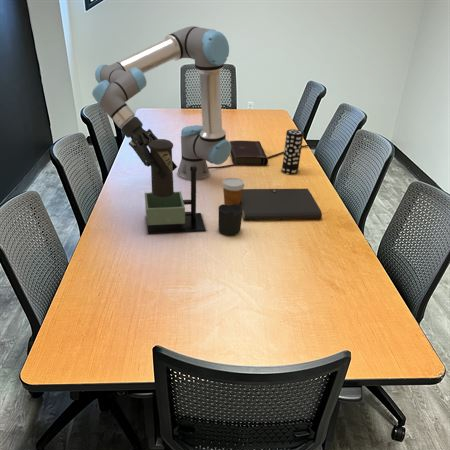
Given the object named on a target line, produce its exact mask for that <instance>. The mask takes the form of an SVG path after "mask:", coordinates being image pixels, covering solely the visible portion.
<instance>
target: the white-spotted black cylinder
mask: <svg viewBox="0 0 450 450" xmlns="http://www.w3.org/2000/svg"><path fill="white" fill-rule="evenodd" d="M304 134H305V133H304V131H302V130H300V129H292V128H291V129H288V130H286V132H285V142H284V150H283V152H284V153H283V156H282V166H281V172H282V173H283V174H285V175H291V176H292V175H297V174H298V173H299V167H300V161H301V156H302V155H301V154H302V148H303V147H302V146H303V141H304Z"/></svg>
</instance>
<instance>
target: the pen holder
mask: <svg viewBox="0 0 450 450" xmlns="http://www.w3.org/2000/svg"><path fill="white" fill-rule="evenodd" d="M242 212H243V208H242V207H241V206H240V205H238V204H232V205H225V204H224V203H223V204H220V205H218V232H219V233H220V234H221V235H223V236H227V237H234V236H237V235H238V234H240V233H241V228H242V220H243V216H242Z"/></svg>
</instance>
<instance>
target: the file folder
mask: <svg viewBox="0 0 450 450" xmlns="http://www.w3.org/2000/svg"><path fill="white" fill-rule="evenodd" d="M240 206H241V207H242V208H243V212H242V220H243V221H265V220H266V221H267V220H269V221H270V220H271V221H273V220H322V217H323V212H322V210H321V207H320V206H319V204H318V203H317V201H316V199H315V198H314V196H313V194H312V193H311V192H310V190H309V188H243V192H242V197H241V201H240Z"/></svg>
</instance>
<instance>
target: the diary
mask: <svg viewBox="0 0 450 450" xmlns="http://www.w3.org/2000/svg"><path fill="white" fill-rule="evenodd" d="M228 141H229V142H230V144H231V153H230V157H231V160H232V163H233V164H238V165H237V166H247V167H249V166H251V167H253V166H255V167H257V166H258V167H259V166H261V167H262V166H263V167H266V166H267V165H268V163H269V158H267V157H268V156H267V155H266V152H265V150H264V148H263V146H262V144H261V141H260V140H228Z"/></svg>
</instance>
